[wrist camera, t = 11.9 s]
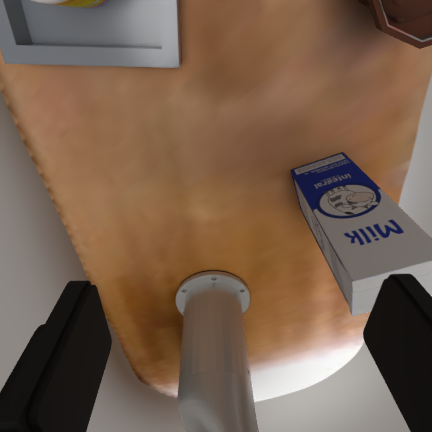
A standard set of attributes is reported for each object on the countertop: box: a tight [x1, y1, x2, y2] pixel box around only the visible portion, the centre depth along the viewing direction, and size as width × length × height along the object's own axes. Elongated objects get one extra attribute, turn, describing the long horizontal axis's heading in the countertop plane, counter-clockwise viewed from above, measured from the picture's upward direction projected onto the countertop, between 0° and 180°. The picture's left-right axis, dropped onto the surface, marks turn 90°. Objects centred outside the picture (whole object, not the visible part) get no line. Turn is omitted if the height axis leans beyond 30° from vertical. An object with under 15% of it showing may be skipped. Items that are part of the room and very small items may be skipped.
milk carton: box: [291, 152, 432, 316], centre depth 32 cm, size 7×7×20 cm
